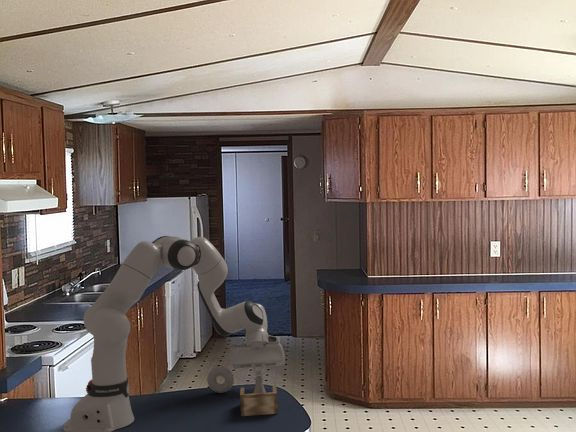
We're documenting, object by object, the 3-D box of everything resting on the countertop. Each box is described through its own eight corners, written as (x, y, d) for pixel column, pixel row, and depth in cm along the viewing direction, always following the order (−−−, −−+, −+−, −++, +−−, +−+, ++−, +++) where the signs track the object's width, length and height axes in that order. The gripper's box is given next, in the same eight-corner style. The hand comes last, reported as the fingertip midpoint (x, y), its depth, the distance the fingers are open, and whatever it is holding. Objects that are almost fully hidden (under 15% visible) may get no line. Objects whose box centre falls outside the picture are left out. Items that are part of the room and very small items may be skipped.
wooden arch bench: (240, 416, 209) (239, 395, 209) (241, 404, 220) (240, 384, 220) (278, 413, 210) (277, 393, 209) (276, 402, 221) (275, 382, 220)
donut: (207, 394, 232) (205, 368, 232) (208, 391, 236) (207, 365, 235) (233, 394, 232) (232, 367, 231) (235, 391, 235) (233, 364, 234)
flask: (267, 409, 215) (265, 380, 214) (247, 408, 216) (245, 379, 216) (272, 401, 222) (271, 373, 221) (253, 400, 223) (252, 373, 223)
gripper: (229, 340, 237) (229, 374, 228) (283, 337, 238) (286, 370, 229) (230, 349, 242) (231, 382, 232) (283, 345, 243) (286, 378, 233)
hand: (258, 376), depth 231 cm, fingers closed
